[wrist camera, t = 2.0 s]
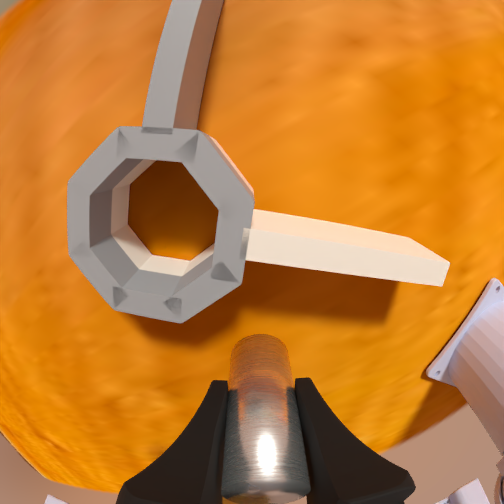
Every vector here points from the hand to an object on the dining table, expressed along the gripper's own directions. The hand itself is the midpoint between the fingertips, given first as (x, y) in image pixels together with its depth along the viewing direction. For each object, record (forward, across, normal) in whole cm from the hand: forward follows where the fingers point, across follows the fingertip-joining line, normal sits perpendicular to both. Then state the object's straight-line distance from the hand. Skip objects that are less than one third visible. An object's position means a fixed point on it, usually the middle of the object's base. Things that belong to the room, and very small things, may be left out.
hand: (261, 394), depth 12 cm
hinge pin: (+3, 0, 0) cm, 3 cm away
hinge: (+3, -1, -11) cm, 11 cm away
